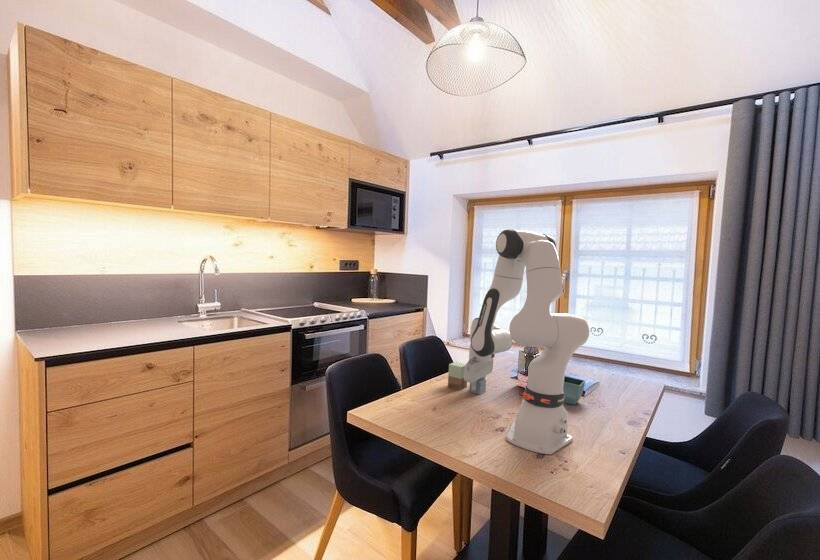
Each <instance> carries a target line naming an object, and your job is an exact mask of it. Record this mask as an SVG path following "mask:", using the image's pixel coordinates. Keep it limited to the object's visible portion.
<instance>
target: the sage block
mask: <svg viewBox="0 0 820 560" xmlns="http://www.w3.org/2000/svg"><path fill="white" fill-rule="evenodd" d="M465 365H466V363H463V362H460V361H459V362H458V361H455V362H451V363H449V364H448V376H451V377H455V378H459V379H462V378H464V370H465Z"/></svg>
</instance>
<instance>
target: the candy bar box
mask: <svg viewBox="0 0 820 560" xmlns="http://www.w3.org/2000/svg"><path fill="white" fill-rule="evenodd" d="M537 353H538V352H537ZM539 355H541V353H540V352H539V353H538V354H536V355H535V357H534V358H536V357H538V356H539ZM517 362H518V363H517V373H516V374H517V375H516V377H517V376H518V373H519V372H521V371H523V370H524V367H525V353H524V349H519V350H518V361H517Z"/></svg>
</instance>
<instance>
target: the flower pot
mask: <svg viewBox="0 0 820 560" xmlns="http://www.w3.org/2000/svg"><path fill="white" fill-rule="evenodd" d="M585 384H586V380H584V379H580V378H576V377H571V376H566V375H565V377H564V386H563V391H564V396H565V398H564V404H565V403H566V404H568V405H572V404H573V405H574V406H575V405H576V404H577V403H578V402H579V400H580V399H581V398H582V396H583V393H584V390H585V389H584V388H585Z"/></svg>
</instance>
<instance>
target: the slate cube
mask: <svg viewBox="0 0 820 560" xmlns="http://www.w3.org/2000/svg"><path fill="white" fill-rule="evenodd" d="M476 385H477V389H476V390H472V389H471V388H472V385H471V383H470V382H469V390H468V392H469V393H473V394H477V395H479V394H480V395H482V394H484V393H486V388H487V380H486V379H485V380H484V379H478V380H477V381H476Z"/></svg>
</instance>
